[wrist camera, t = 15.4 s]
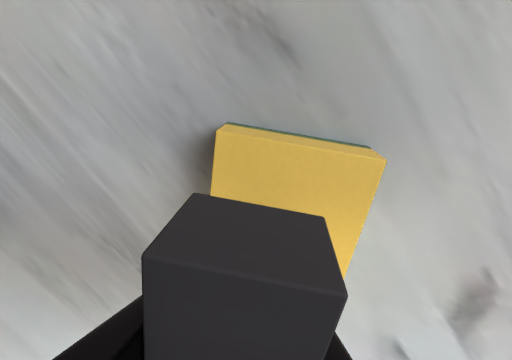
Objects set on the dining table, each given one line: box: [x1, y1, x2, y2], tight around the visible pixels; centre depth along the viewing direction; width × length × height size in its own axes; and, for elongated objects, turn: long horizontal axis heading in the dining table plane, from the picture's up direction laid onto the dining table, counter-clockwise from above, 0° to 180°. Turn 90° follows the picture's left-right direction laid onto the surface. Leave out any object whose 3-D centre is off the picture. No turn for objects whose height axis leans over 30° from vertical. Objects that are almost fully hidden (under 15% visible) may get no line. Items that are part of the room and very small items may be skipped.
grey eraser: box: [141, 193, 348, 360], centre depth 7 cm, size 6×4×3 cm
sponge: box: [210, 122, 387, 279], centre depth 19 cm, size 16×10×3 cm, turn 171°
